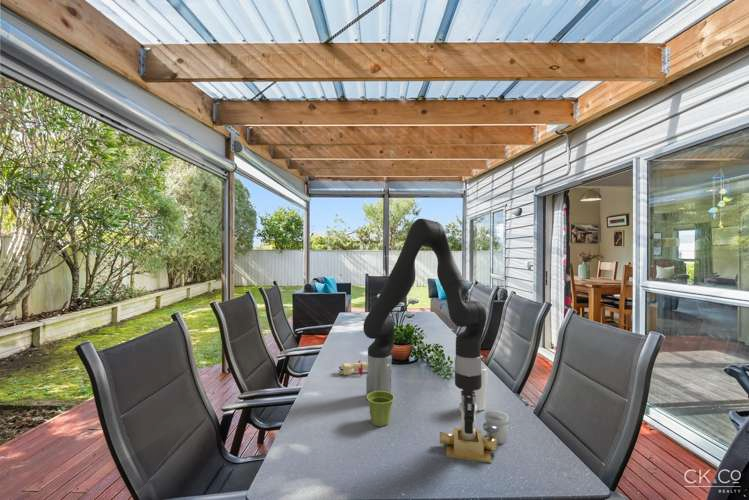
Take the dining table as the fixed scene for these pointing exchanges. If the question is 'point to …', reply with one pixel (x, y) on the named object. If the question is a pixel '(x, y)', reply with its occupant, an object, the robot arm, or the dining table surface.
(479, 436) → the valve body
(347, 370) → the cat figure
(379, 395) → the plant pot
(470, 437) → the white mushroom shaped knob
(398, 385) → the dining table surface
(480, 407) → the white tall cylinder
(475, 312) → the robot arm
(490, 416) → the cylinder
